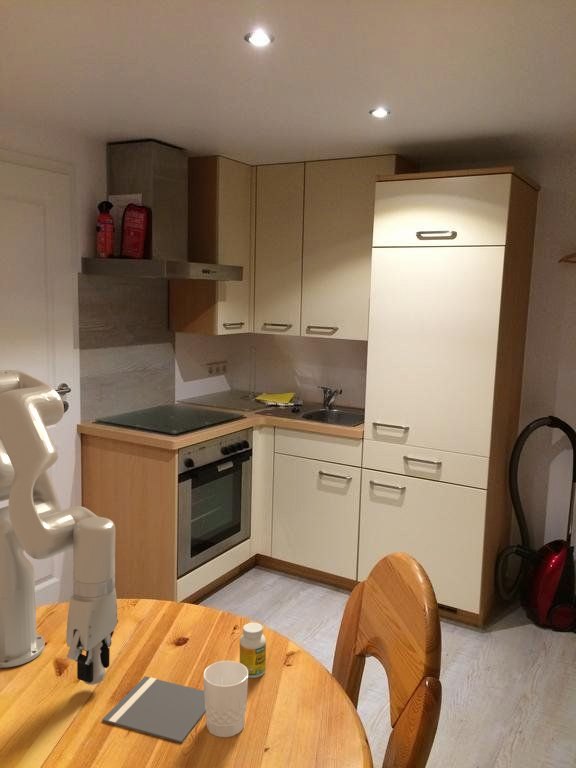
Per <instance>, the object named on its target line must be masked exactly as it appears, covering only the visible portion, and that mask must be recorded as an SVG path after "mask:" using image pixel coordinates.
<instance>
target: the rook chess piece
mask: <svg viewBox="0 0 576 768" xmlns="http://www.w3.org/2000/svg"><path fill="white" fill-rule="evenodd" d="M102 645H103V644H102V642H100V643H98V644H97V645H96V646H95V647H93V651H92V658H91V662H93V681H92V682H91V683H89V682H85V681H83V683H85V684H86V685H91V686H93V685H98V684H99V683H101V682H102V681H104V679H105V678H106V668H104V667H103V664H102V663H101V658H100V654H101V650H100V648H101V647H102Z"/></svg>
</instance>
